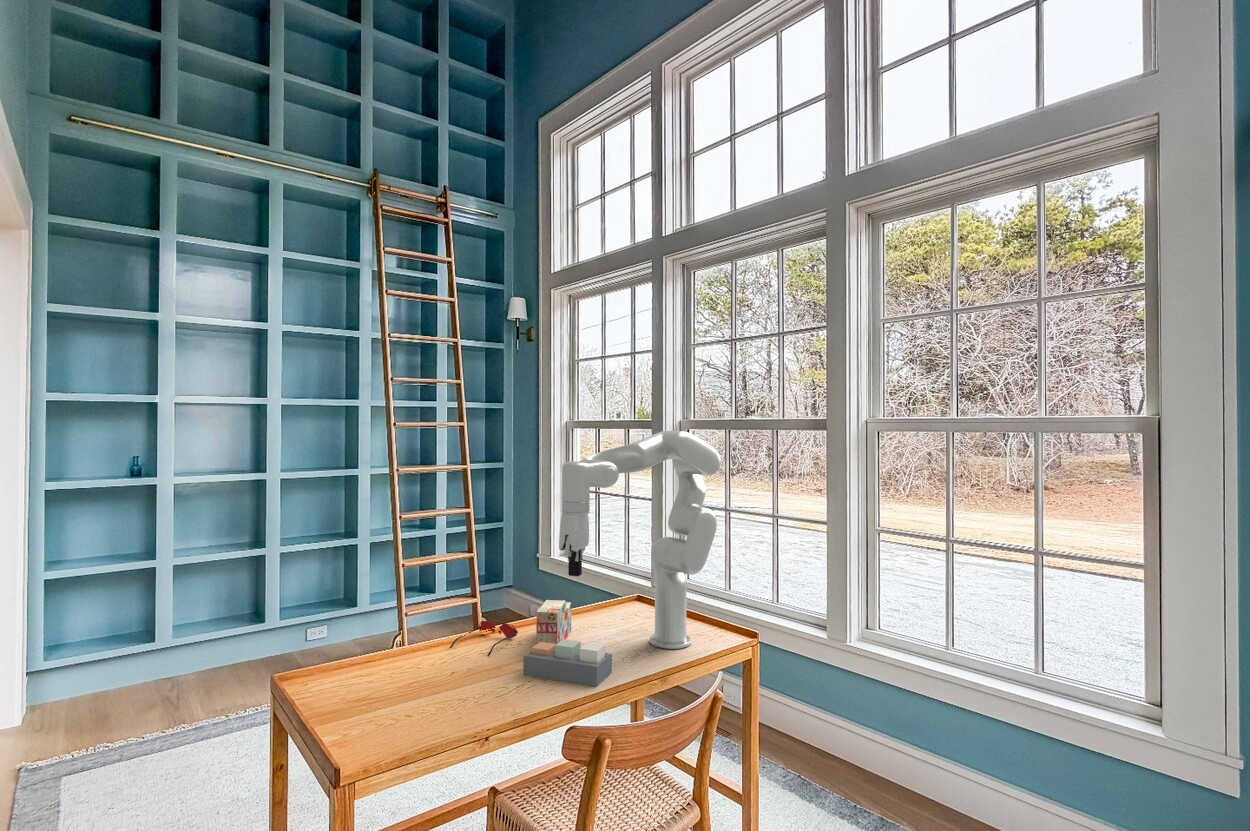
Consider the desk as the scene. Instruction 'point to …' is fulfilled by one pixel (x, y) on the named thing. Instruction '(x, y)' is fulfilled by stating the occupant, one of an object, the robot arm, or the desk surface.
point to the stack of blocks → (553, 621)
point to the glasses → (505, 628)
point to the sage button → (567, 649)
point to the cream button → (592, 653)
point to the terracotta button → (543, 649)
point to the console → (567, 669)
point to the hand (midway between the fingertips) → (575, 575)
